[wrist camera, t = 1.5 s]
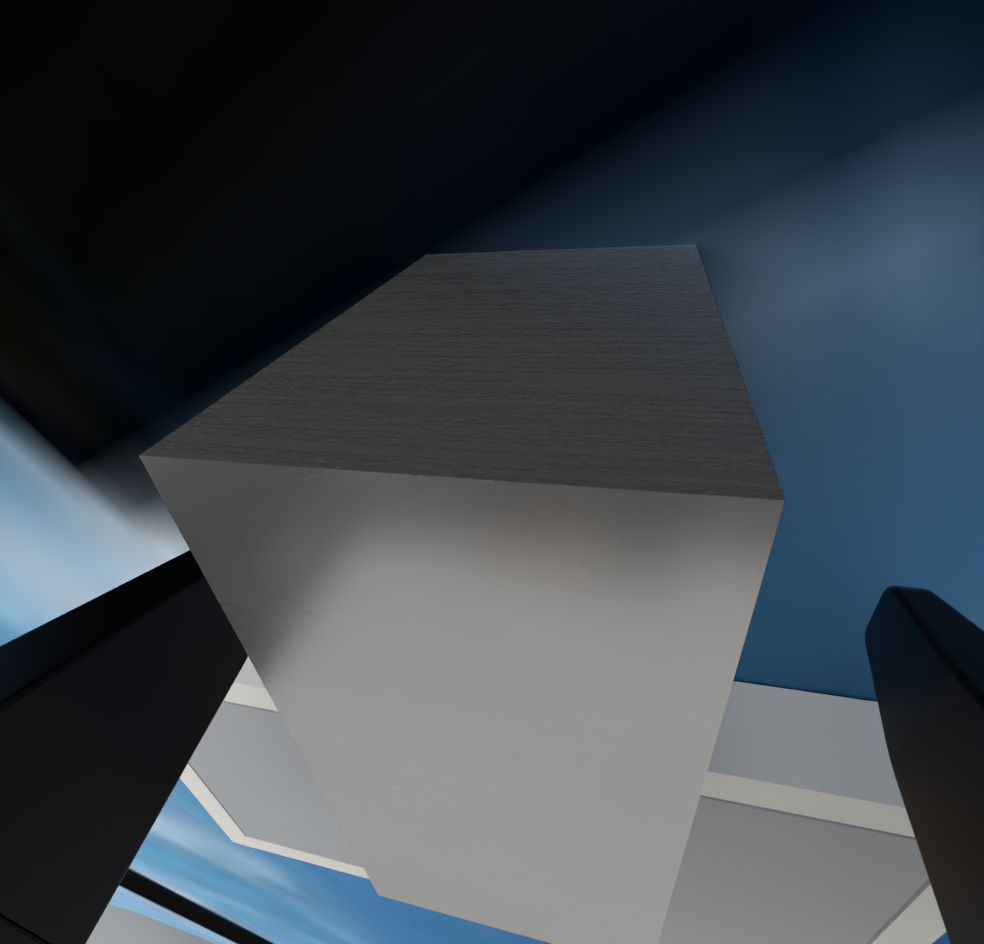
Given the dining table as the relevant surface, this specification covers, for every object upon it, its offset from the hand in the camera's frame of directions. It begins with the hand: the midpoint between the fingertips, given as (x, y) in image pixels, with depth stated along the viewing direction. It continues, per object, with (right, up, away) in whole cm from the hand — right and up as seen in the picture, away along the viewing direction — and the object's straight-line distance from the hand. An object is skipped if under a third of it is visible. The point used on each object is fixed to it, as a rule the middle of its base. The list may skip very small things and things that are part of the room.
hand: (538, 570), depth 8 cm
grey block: (+1, +2, +2) cm, 3 cm away
